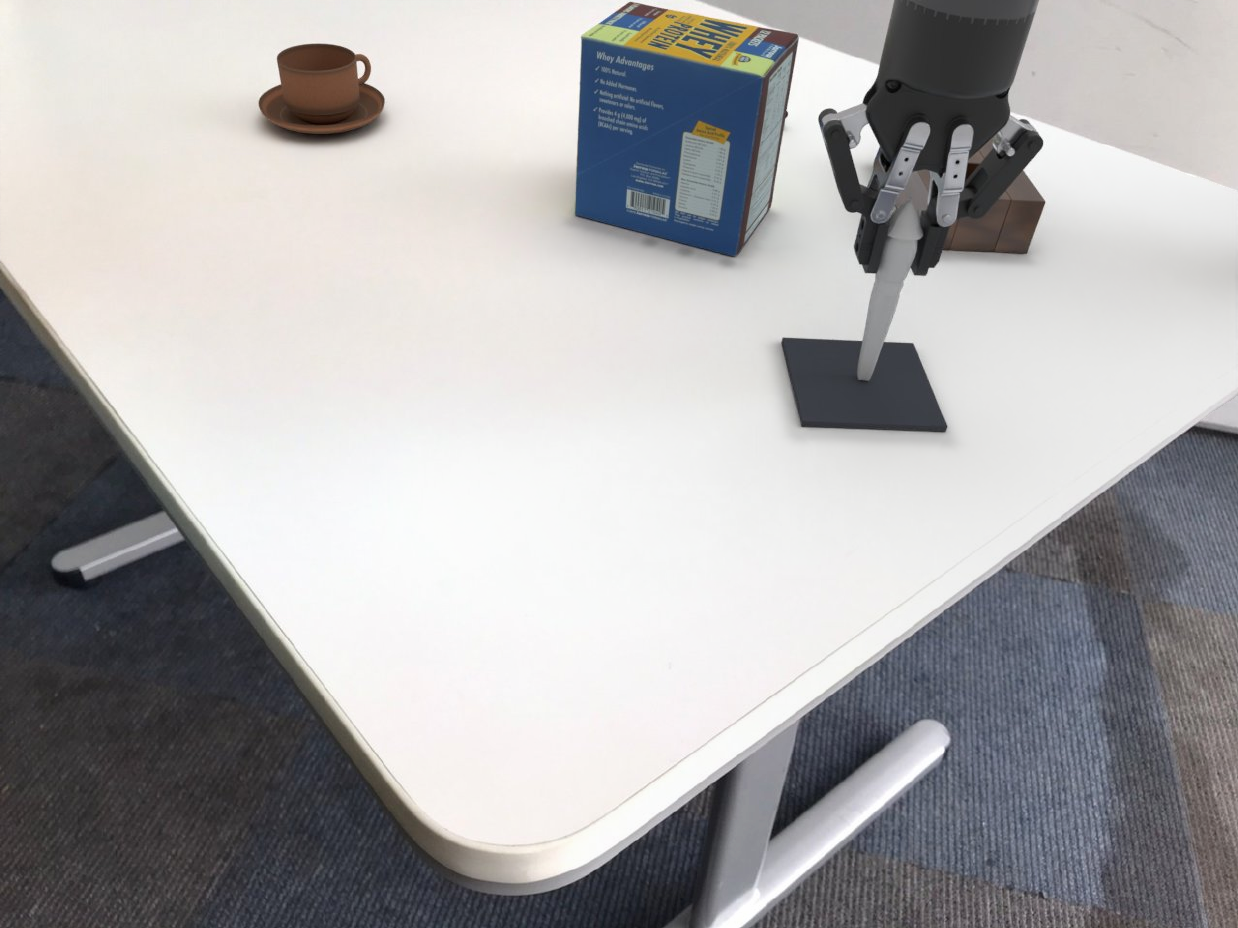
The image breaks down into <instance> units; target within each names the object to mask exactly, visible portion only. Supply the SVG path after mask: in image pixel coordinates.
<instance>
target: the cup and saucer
mask: <svg viewBox="0 0 1238 928" xmlns="http://www.w3.org/2000/svg"><path fill="white" fill-rule="evenodd" d="M357 62H362V64H363V66H364V73H363V74H362V76H361V77H359V76H358V75H359V74H358V63H357ZM276 63H277V68H278V74H279V80H280V84H278V85H276V86H273V87H271V88H269V89H268V90H266V91H264V93H262V95H261V96H260V97H259V100H258V107H259V110H260V112H261V114H262V116H264V118H265V119H267V120H269V121H270V122H271V123H273V124H274V125H275V126H278V127H280V128H282V129H285V130H288V131H291V132H297V133H300V134H301V133H302V134H312V135H327V134H328V135H330V134H338V133H344V132H349V131H353V130H356V129H359V128H362V127H364V126H366V125H368V124H370V123H372V122H373V121H374V120H375V119H376V118H377V117H379V116H380V115H381V113H383V110H384V108H385V101H386V99H385V96H384V94H383V93H382V92H381V91H380V90H379V89H377V88H376V87H375V86H373V85H371V84H368V83H366V82H367V81H368V80H369V79H370V76H371V72H372V65H371V62H370V60H369V58H368V57H367V56H366V55H364V54H362V53H357V54H356V53H355V52H354V51H353V50H351V49H349V48H347V47H345V46H342V45H337V44H332V43H303V44H298V45H294V46H290V47H288V48H285V49H283V50H282V51H280V52H279V53H278V54H277V55H276Z"/></svg>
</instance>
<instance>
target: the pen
mask: <svg viewBox="0 0 1238 928" xmlns="http://www.w3.org/2000/svg"><path fill="white" fill-rule="evenodd" d="M888 222H889V224H890V226H889V230H888V234H887V238H886V242H885V246H884V249H883V253H882V257H881V261H880V265H879V269H878V272H877V273H876V274H874V283H873V286H872V289H871V291H870V292H871V293H870V297H869V301H868V307H867V308H868V309H867V313H866V320H865V324H864V330H863V334H862V335H863V336H862V340H861V341H862V346H861V351H860V357H859V362H858V369H857V377H858V380H865V381H869V380H870V378H871V376H872V374H873V371H874V368H875V366H876V363H877V360H878V357H879V354H880V351H881V349H882V346H883V343H884V342H886V341H885V340H886V337H887V334H888V333H889V329H890V326H891V324H892V321H893V319H894V316H895V313H896V311H897V308H898V304H899V299H900V296H901V295H900V294H901V292H902V290H903V288H904V281H905V280H906V278H907V277H908V274H909V273H910V271H911V265H912V263H913V260H914V258H915V254H916V251H917V240H918V239H920V238H922V237H923V230H922V228H921V225H920V217H919V214H918V212H917V209H916V207H915V204H914V202H913V201H912V199H909V200H908V201H906V202H905V203H903V204H902V205H901V206H900V207H899V208H898V209H897V208H896V209H895V210H893V211H892V212H891V215H890V217H889V219H888Z"/></svg>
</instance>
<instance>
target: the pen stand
mask: <svg viewBox="0 0 1238 928" xmlns="http://www.w3.org/2000/svg"><path fill="white" fill-rule="evenodd" d="M995 136H996V135H995ZM995 136H994V137H993V138H992V139H991V140H989V141H988V142H987V143H986V144H985V145H984V146H983V147H982V148H981V149H980V150H978V151H977V152H976V153H975V154H974V155H973V156H972V157H971V158H970V159H969V160H968V163H967V170H966V177H965V181H966V180H967V179H968V178H969V177H970V175H971V174H972V173H973V172H974V170H975V169H976V168H977V167H978V166H979V164H980V163H981V162H982V161H983V160H984V158H985V157H986V156H987V155H988V154H989V152H990V151H991V150H992V149H993V140H994V138H995ZM929 186H930V171H929V170H926V169H924V170H919V171H914V172H912V173H911V175H910V177H909V180H908V182H907V185H906V187H905V189H904V191H903V192H900V193H899V195H898V198H897V200H896V203H895V205H894V207H896V209H898V208H899V207H900V206H901V205H902V204H903V203H905V202H906V201H908V200H909V199H912V201H913V202H914V204H915V207H916V209H917V212H918V214H919V217H920V215H921V211H922V210H926V211H927V208H928V194H929ZM1045 205H1046V200H1045V199H1044V197H1043V196H1042V194H1041V193H1040V191H1039V190H1038V189H1037V187H1036V186H1035V185H1034V183H1033V182H1032V180H1031V179H1030V177H1029V176H1028V174H1027V173H1026V172H1025V170H1023V171H1022V172H1021V173H1020V174H1019V176H1018V177H1017V178H1016V179H1015V180H1014V181H1013V183H1012V184H1011V185H1010V186H1009V187H1008V188H1007V190H1006V191H1005V192H1004V193H1003V194H1002V195H1001V196H1000V198H999V199H998V200H997V201H996V202H995V203H994V205H993V206H992V207H991V208H990V209H989V210H988V212H987V213H986V214H985V215H984V216H983V217H981V218H979V219H972V218H971V217H969V216H968V217H964V218H960V219H958V220H956V221H955V222H954V223H953V224H952V225H951V226H950V228H949V230H948V234H947V237H946V240H945V244H944V247H943V250H942V251H945V250H946V251H949V250H950V251H968V252H986V253H987V252H988V253H993V252H994V253H1009V254H1028V251H1029V249H1030V246H1031V243H1032V241H1033V238H1034V235H1035V232H1036V230H1037V227H1038V224H1039V223H1040V222H1039V221H1040V219H1041V216H1042V213H1043V211H1044V208H1045Z"/></svg>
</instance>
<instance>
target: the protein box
mask: <svg viewBox="0 0 1238 928" xmlns="http://www.w3.org/2000/svg"><path fill="white" fill-rule="evenodd" d="M799 40H800V38H799V35H798V34H797V33H794V32H789V31H785V30H784V31H783V30H778V29H774V28H773V29H772V28H768V27H767V28H766V27H762V26H756V25H751V24H748V23H747V24H746V23H741V22H735V21H730V20H726V19H721V18H715V17H709V16H705V15H700V14H696V13H690V12H685V11H681V10H680V11H679V10H675V9H674V10H673V9H668V8H663V7H658V6H655V5H649V4H644V3H639V2H634V1H628V2H627V3H626V4H624V5H623V6H621V7H620V8H619V9H617V10H615V11H614V12H613V13H611V14H610V15H609V16H607V17H605V19H603V20H601V22H599V23H597V24H595V25H594V26H592V27H591V28H590V29H589V30H587V31H586V32H584V33H583V34H582V35H581V36H580V65H579V66H580V69H579V95H578V121H577V144H576V166H575V167H576V169H575V191H574V195H575V196H574V212H573V213H574V215H575V216H578V217H581V218H585V219H589V220H593V221H597V222H601V223H605V224H607V225H612V226H616V227H620V228H623V229H628V230H631V231H635V232H639V233H643V234H647V235H650V236H654V237H658V238H661V239H665V240H669V241H673V242H677V243H681V244H685V245H688V246H692V247H696V248H700V249H703V250H706V251H710V252H715V253H719V254H722V255H726V256H730V257H736V256H738V255H739V253H740V252H741V251H742V249H743V248H744V246H745V245H746V244H747V242H748V241H749V239H750V237H751V236H752V235H753V234H754V232H755V231H756V229H757V228H758V226H759V225H760V223H761V222H762V221H763V220H764V218H765V216H766V215H767V213H768V212H769V210H770V209H771V207H772V203H773V198H774V190H775V184H776V178H777V171H778V165H779V160H780V154H781V146H782V142H783V140H782V139H783V135H784V130H785V122H786V112H788V103H789V100H790V94H791V89H792V84H793V83H792V81H793V76H794V71H795V70H794V69H795V64H796V59H797V58H796V57H797V52H798V46H799Z"/></svg>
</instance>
